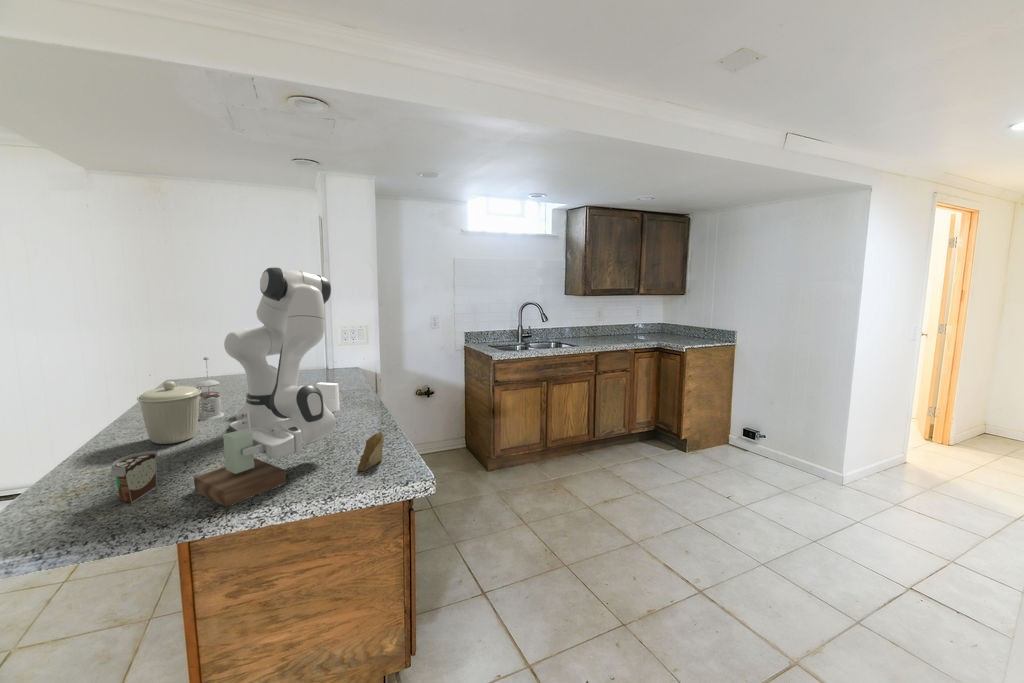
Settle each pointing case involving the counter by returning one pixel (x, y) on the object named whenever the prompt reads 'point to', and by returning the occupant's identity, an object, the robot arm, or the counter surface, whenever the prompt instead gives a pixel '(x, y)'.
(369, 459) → the rock
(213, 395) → the french press
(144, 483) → the food container
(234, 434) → the sage block
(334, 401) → the white tapered cylinder
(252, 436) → the robot arm
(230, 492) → the walnut base
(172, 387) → the canister
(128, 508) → the counter surface
